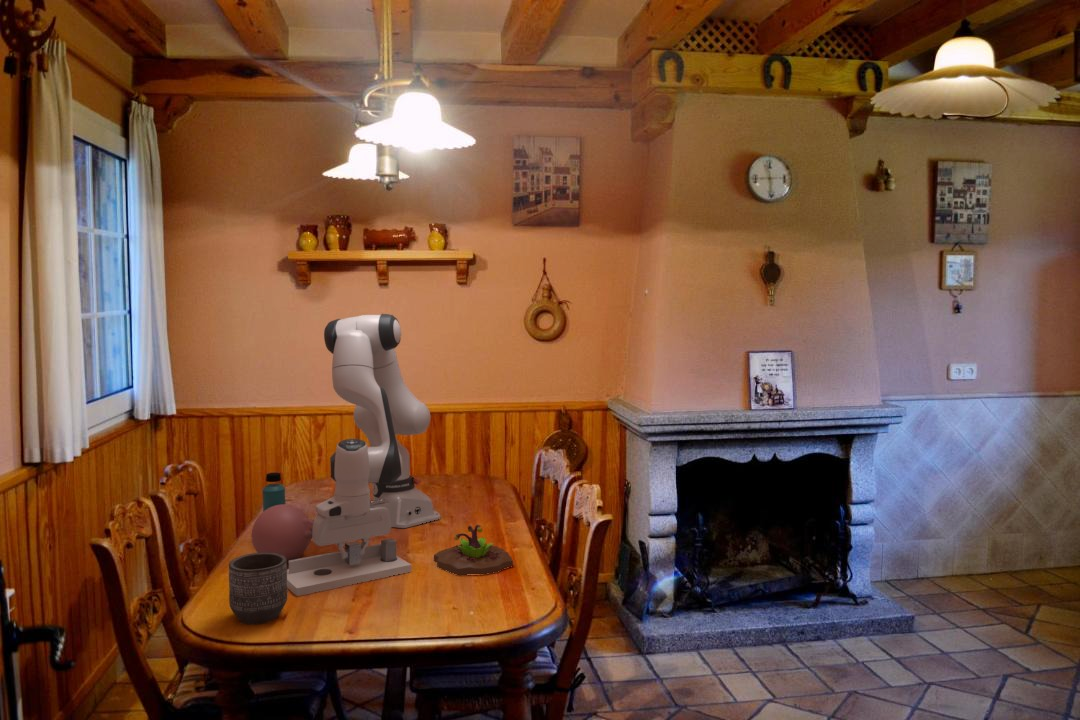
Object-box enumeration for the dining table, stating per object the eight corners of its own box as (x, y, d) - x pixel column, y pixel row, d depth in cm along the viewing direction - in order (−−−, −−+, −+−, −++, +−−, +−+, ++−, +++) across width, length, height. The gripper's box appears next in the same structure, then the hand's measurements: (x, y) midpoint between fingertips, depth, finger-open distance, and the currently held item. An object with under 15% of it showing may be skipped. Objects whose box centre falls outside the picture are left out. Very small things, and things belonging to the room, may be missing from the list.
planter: (252, 603, 186) (251, 549, 185) (298, 610, 183) (297, 555, 182) (217, 624, 175) (216, 566, 174) (265, 631, 171) (264, 573, 170)
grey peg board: (387, 557, 220) (387, 532, 219) (411, 572, 208) (411, 545, 208) (278, 579, 202) (277, 551, 202) (297, 596, 191) (296, 567, 190)
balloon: (318, 573, 207) (317, 514, 206) (242, 570, 208) (241, 512, 207) (336, 553, 222) (336, 499, 221) (265, 551, 223) (264, 497, 222)
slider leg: (353, 559, 210) (353, 539, 209) (360, 564, 206) (360, 544, 206) (342, 561, 208) (342, 541, 207) (349, 566, 204) (349, 546, 204)
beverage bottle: (279, 545, 229) (278, 476, 227) (258, 543, 230) (257, 475, 228) (290, 538, 235) (290, 471, 233) (270, 537, 236) (269, 470, 235)
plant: (457, 582, 203) (457, 538, 202) (425, 560, 219) (425, 519, 218) (524, 568, 213) (525, 527, 213) (489, 548, 230) (489, 510, 229)
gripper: (384, 495, 214) (384, 546, 215) (309, 506, 202) (310, 560, 203) (395, 500, 209) (395, 552, 210) (318, 512, 197) (319, 567, 198)
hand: (352, 556), depth 206 cm, fingers closed on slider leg, 3 cm apart
